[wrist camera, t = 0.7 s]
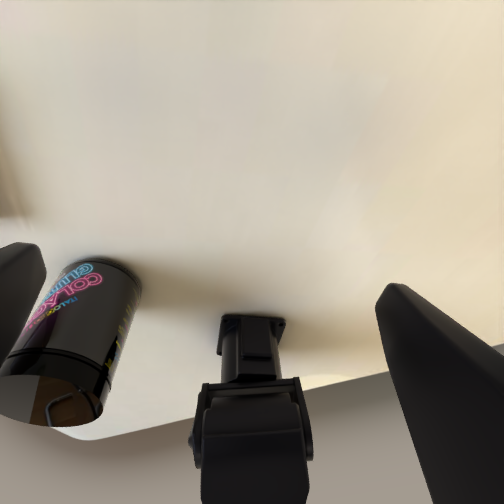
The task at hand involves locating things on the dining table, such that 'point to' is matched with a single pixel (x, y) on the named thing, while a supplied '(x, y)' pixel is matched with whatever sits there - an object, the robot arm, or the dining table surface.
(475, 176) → the dining table surface
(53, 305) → the supplement container
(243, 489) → the robot arm
